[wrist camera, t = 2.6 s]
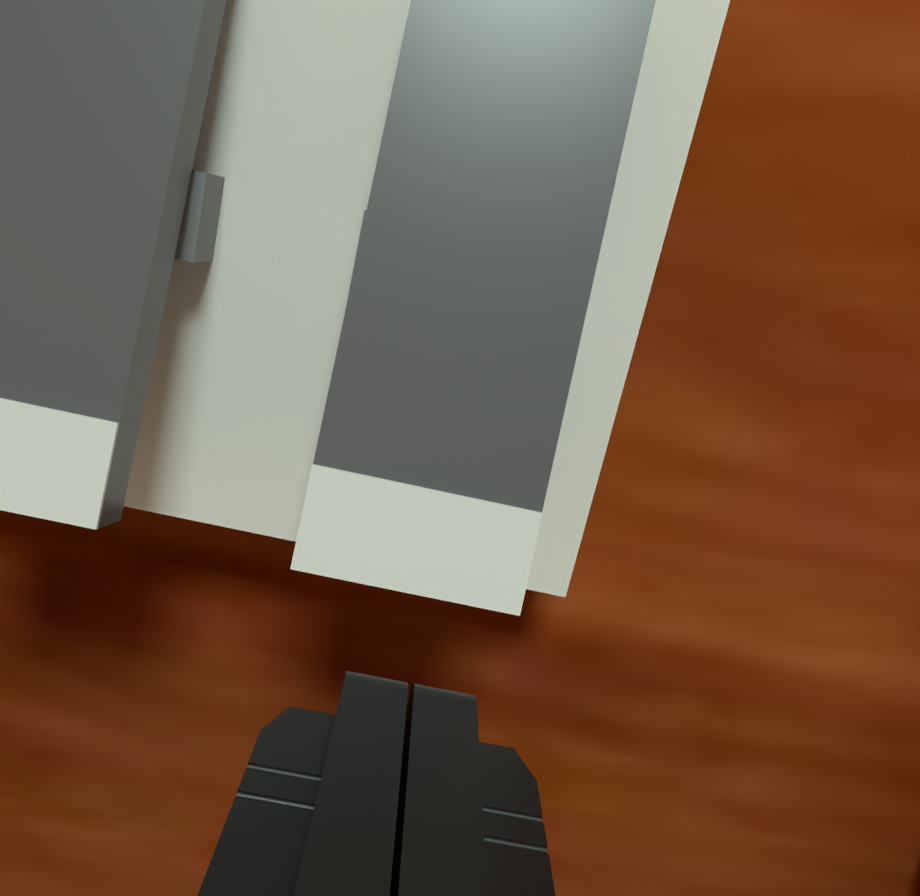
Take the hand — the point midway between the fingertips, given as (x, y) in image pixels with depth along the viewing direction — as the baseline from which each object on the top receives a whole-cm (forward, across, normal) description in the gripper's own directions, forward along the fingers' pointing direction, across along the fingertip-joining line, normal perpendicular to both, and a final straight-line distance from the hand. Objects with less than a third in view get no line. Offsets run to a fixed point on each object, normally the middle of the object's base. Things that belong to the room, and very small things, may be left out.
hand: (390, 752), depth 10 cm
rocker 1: (+8, +8, -5) cm, 12 cm away
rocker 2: (+8, 0, -5) cm, 10 cm away
